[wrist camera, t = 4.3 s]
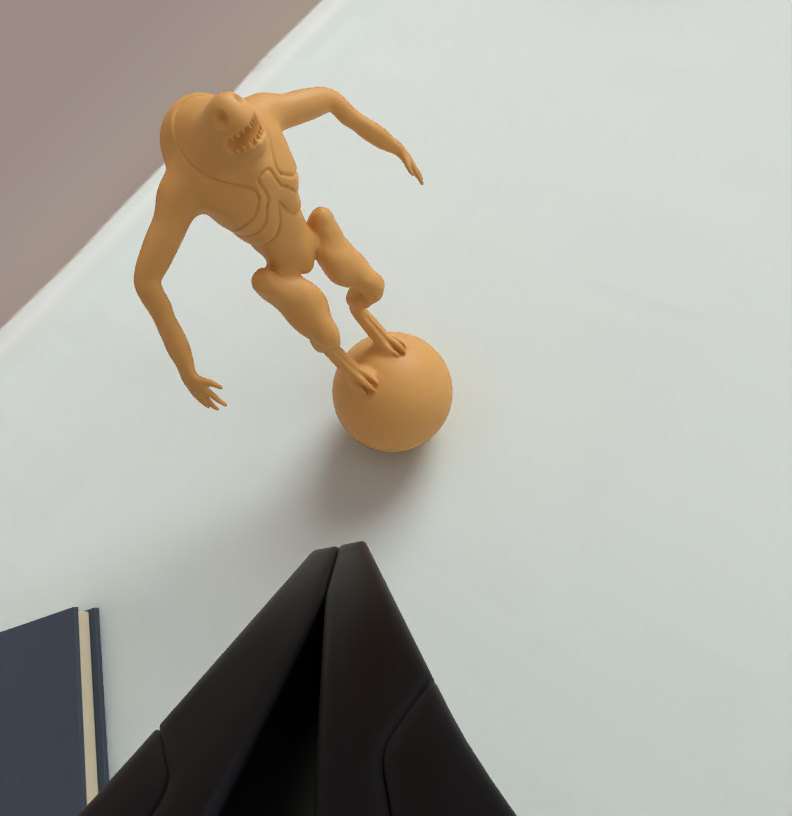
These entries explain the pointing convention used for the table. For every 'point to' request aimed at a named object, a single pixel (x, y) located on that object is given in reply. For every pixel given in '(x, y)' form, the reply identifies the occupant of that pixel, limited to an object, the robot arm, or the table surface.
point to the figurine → (288, 255)
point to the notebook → (52, 715)
